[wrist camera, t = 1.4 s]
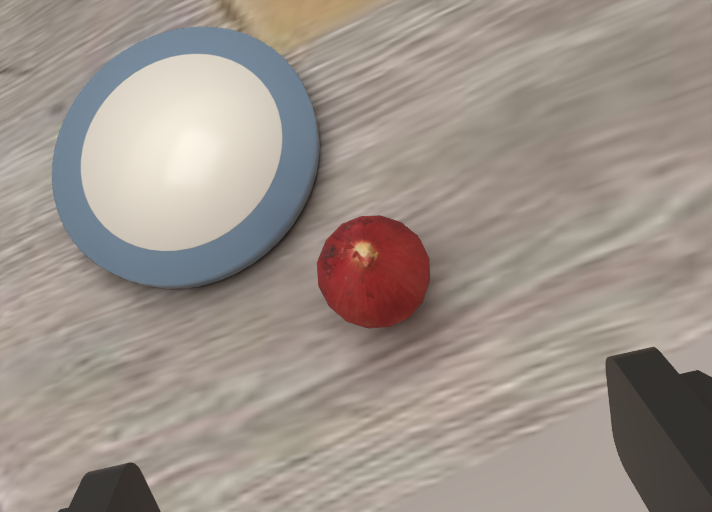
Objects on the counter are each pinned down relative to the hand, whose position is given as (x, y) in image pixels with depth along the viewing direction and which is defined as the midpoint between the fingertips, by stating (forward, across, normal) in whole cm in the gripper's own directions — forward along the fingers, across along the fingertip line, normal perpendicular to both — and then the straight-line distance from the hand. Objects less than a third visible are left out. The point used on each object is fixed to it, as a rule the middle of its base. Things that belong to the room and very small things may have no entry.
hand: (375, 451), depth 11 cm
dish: (+33, +10, +2) cm, 35 cm away
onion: (+26, 0, +10) cm, 27 cm away
